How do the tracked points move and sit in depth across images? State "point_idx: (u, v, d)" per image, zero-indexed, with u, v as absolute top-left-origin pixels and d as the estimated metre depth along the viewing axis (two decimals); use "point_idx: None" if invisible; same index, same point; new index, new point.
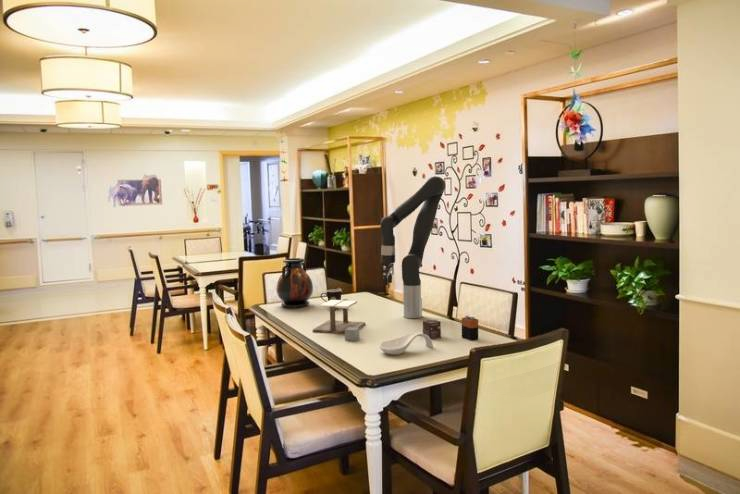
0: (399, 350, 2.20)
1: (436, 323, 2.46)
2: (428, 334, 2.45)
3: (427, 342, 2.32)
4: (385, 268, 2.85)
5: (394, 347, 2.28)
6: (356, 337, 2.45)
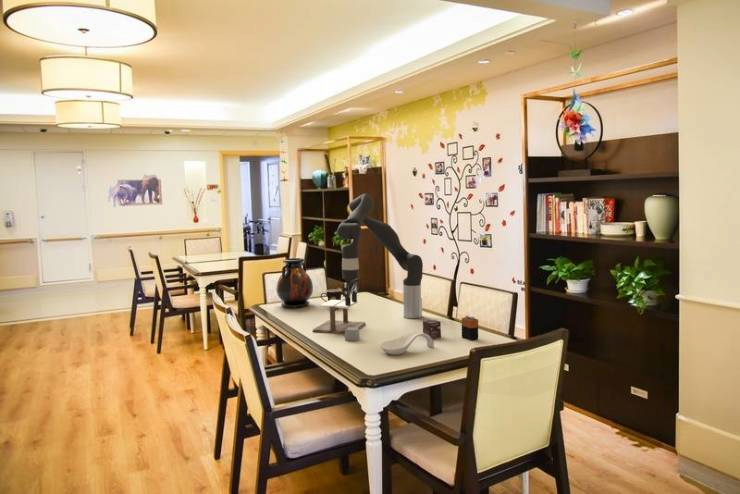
0: (400, 350, 2.20)
1: (436, 323, 2.46)
2: (428, 334, 2.45)
3: (428, 342, 2.32)
4: (346, 285, 2.38)
5: (395, 347, 2.28)
6: (356, 337, 2.45)
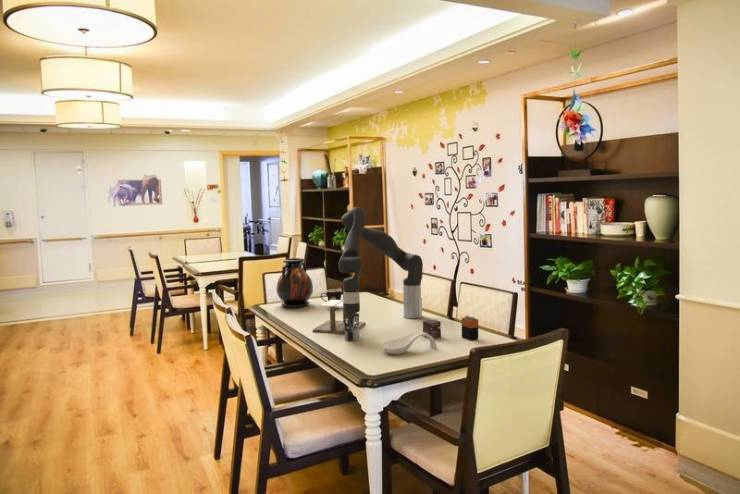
0: (400, 350, 2.20)
1: (436, 323, 2.46)
2: (428, 334, 2.45)
3: (431, 342, 2.31)
4: (347, 322, 2.40)
5: (397, 346, 2.29)
6: (356, 337, 2.45)
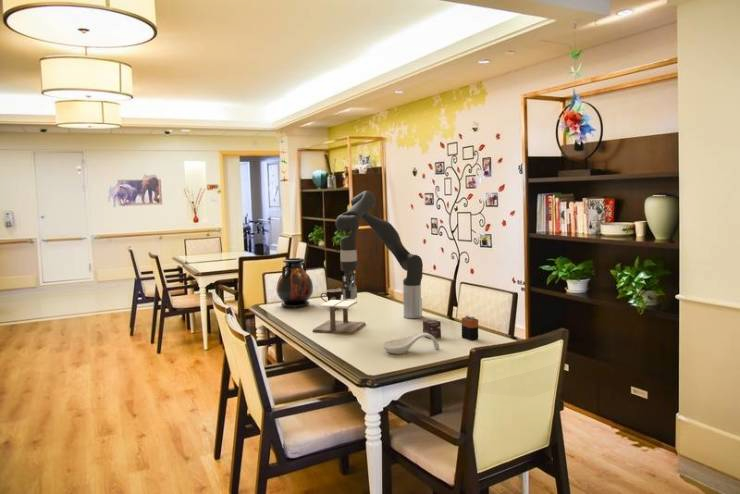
0: (399, 349, 2.20)
1: (436, 323, 2.46)
2: None
3: (434, 343, 2.29)
4: (345, 279, 2.41)
5: (399, 346, 2.29)
6: (353, 296, 2.46)
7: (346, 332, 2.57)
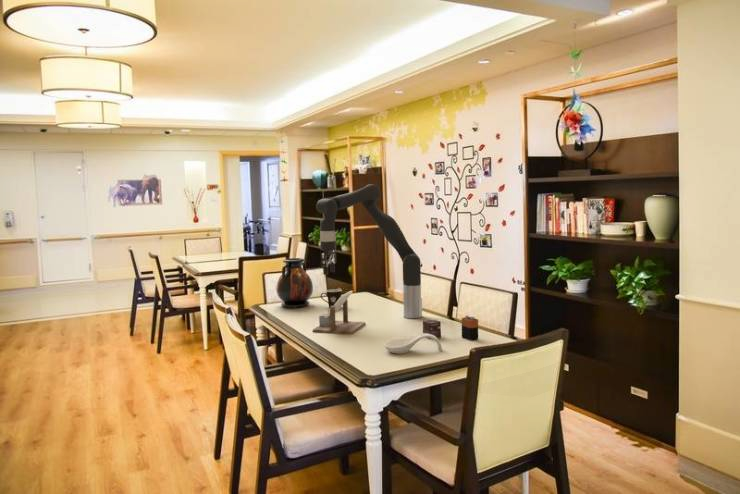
0: (398, 349, 2.21)
1: (436, 323, 2.46)
2: None
3: None
4: (324, 255, 2.60)
5: (402, 346, 2.29)
6: None
7: (346, 332, 2.57)
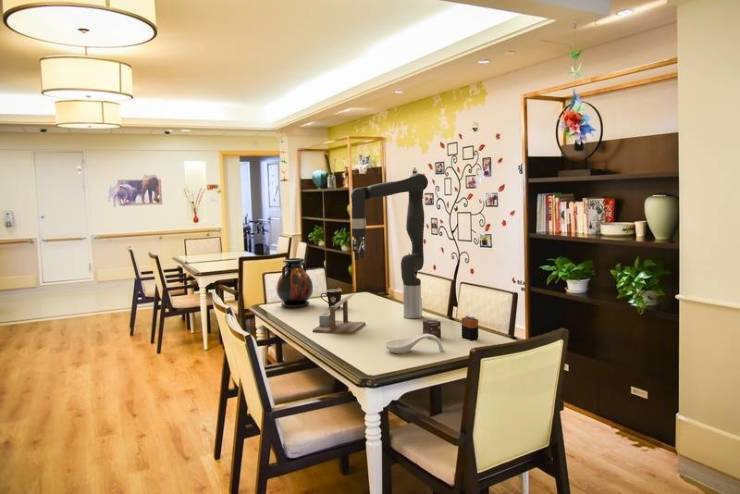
0: (398, 349, 2.21)
1: (436, 323, 2.46)
2: None
3: None
4: (355, 242, 2.73)
5: (403, 346, 2.29)
6: (326, 316, 2.68)
7: (346, 332, 2.57)
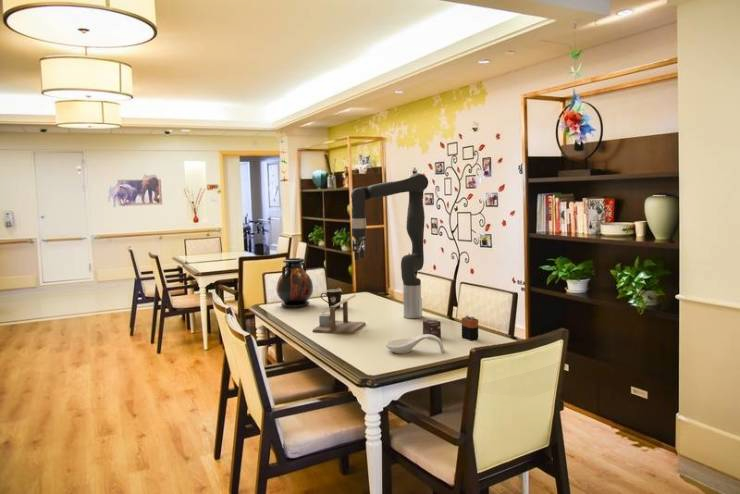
0: (398, 349, 2.21)
1: (436, 323, 2.46)
2: None
3: None
4: (355, 242, 2.74)
5: None
6: (326, 316, 2.68)
7: (346, 332, 2.57)
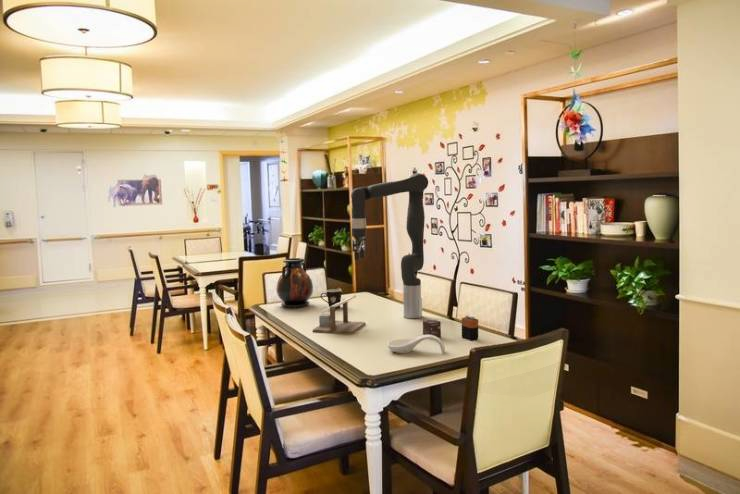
0: (398, 349, 2.21)
1: (436, 323, 2.46)
2: (428, 334, 2.45)
3: None
4: (355, 242, 2.74)
5: None
6: (326, 316, 2.68)
7: (346, 332, 2.57)
